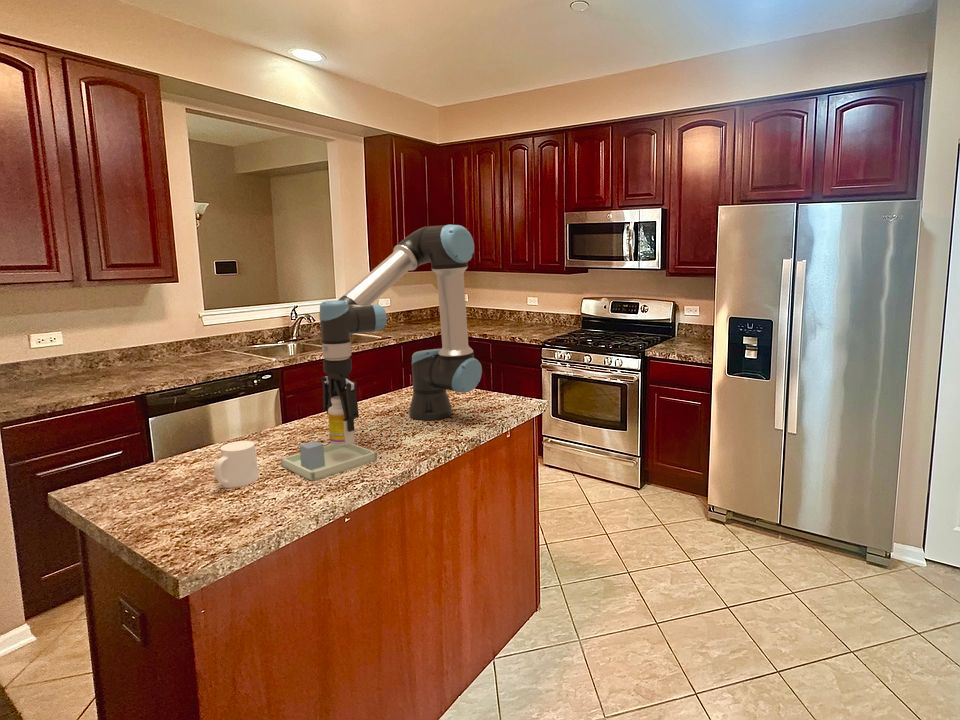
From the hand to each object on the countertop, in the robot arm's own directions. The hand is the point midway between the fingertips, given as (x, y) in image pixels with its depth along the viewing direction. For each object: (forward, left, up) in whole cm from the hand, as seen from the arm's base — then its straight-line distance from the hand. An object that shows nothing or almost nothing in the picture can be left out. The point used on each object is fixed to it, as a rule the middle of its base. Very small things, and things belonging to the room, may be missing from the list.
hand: (342, 439), depth 160 cm
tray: (+4, 0, -6) cm, 7 cm away
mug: (+27, -6, -6) cm, 29 cm away
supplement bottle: (0, 0, -1) cm, 1 cm away
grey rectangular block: (+9, 0, -5) cm, 11 cm away
